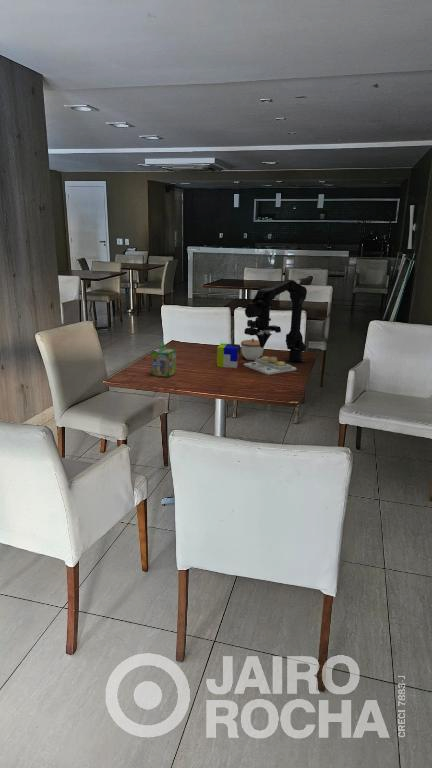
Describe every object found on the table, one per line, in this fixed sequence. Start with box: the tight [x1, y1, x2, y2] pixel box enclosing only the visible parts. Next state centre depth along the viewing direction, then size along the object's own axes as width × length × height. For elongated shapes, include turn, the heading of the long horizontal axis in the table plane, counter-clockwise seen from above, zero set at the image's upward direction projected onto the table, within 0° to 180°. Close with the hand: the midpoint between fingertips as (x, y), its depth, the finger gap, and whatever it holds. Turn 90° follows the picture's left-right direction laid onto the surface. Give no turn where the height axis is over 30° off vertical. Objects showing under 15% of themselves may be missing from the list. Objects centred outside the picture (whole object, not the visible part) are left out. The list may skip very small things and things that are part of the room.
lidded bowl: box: [240, 338, 265, 361], centre depth 267 cm, size 13×13×11 cm
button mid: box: [268, 356, 278, 364], centre depth 251 cm, size 4×4×3 cm
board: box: [243, 357, 297, 376], centre depth 250 cm, size 18×20×3 cm
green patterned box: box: [150, 342, 177, 378], centre depth 233 cm, size 9×9×15 cm
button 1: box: [261, 355, 270, 361], centre depth 256 cm, size 4×4×3 cm
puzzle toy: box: [216, 343, 241, 369], centre depth 253 cm, size 10×10×10 cm
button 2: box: [277, 360, 286, 367], centre depth 246 cm, size 4×4×3 cm
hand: (262, 347), depth 245 cm, fingers closed
